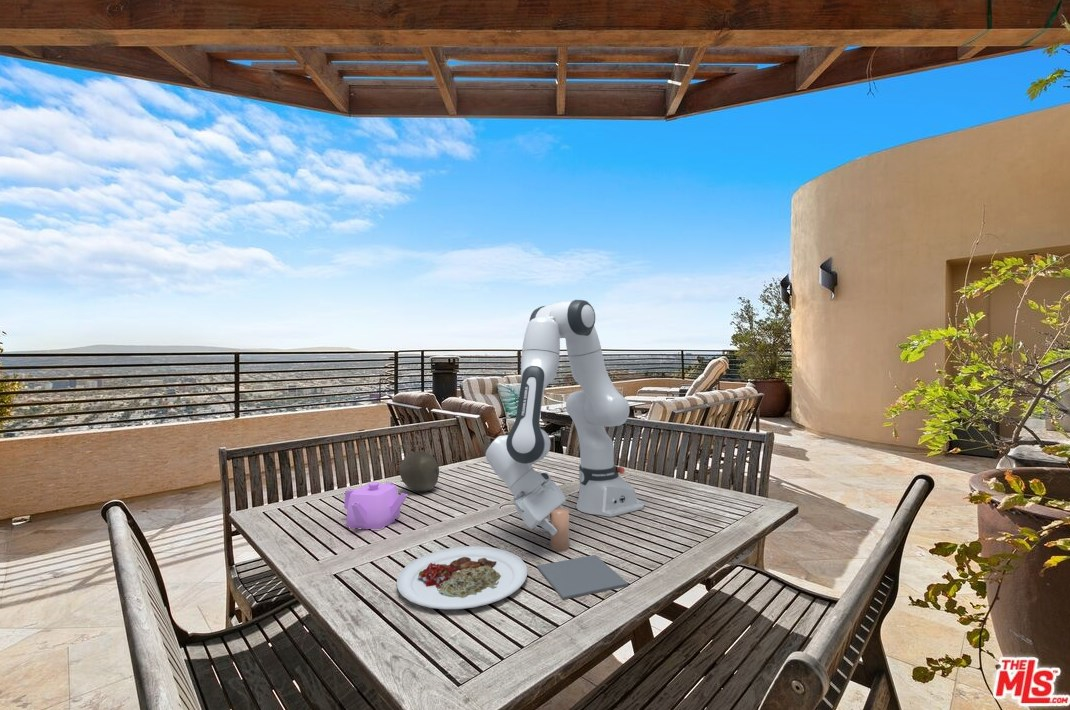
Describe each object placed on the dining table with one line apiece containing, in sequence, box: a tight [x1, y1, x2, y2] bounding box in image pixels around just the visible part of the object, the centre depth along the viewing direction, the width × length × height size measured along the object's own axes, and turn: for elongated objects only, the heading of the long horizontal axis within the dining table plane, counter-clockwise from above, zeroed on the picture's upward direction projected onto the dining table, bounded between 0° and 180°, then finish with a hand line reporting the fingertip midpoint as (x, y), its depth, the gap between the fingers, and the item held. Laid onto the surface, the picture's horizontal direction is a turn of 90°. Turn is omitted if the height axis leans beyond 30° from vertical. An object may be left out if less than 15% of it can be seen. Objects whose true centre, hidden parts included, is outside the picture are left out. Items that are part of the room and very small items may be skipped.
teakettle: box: [343, 481, 408, 530], centre depth 151 cm, size 17×17×12 cm
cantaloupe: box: [399, 451, 440, 492], centre depth 182 cm, size 14×14×15 cm
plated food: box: [396, 545, 528, 610], centre depth 113 cm, size 30×30×3 cm
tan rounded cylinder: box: [549, 506, 570, 552], centre depth 130 cm, size 5×5×10 cm
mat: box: [536, 554, 629, 601], centre depth 113 cm, size 16×16×1 cm
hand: (561, 527), depth 130 cm, fingers open, 7 cm apart
